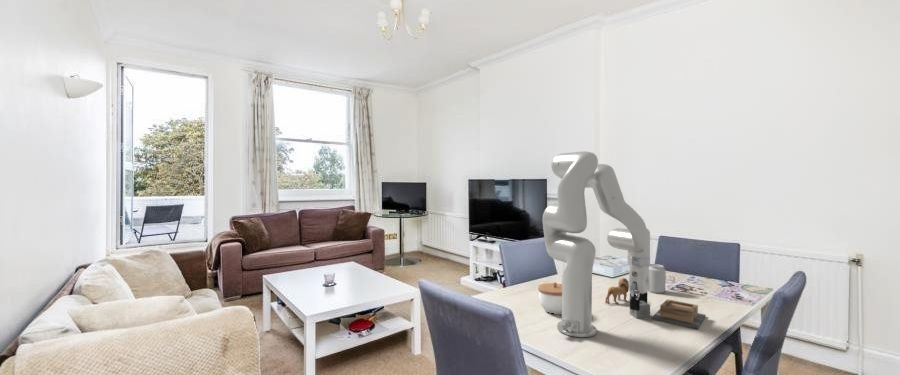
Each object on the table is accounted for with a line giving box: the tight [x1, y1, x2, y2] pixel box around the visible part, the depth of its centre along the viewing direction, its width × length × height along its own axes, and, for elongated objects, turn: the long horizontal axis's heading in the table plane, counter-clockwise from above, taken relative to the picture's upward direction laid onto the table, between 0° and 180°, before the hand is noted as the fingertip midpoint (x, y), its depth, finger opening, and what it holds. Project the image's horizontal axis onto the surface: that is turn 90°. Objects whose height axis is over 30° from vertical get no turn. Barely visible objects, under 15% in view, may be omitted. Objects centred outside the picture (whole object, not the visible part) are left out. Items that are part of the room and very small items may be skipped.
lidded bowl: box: [537, 281, 562, 315], centre depth 144 cm, size 13×13×11 cm
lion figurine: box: [605, 277, 630, 305], centre depth 155 cm, size 15×5×9 cm, turn 130°
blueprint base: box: [651, 299, 706, 330], centre depth 137 cm, size 16×14×5 cm
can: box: [647, 263, 666, 294], centre depth 169 cm, size 8×8×12 cm
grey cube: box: [629, 301, 651, 320], centre depth 139 cm, size 5×5×5 cm
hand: (638, 306), depth 140 cm, fingers open, 9 cm apart
